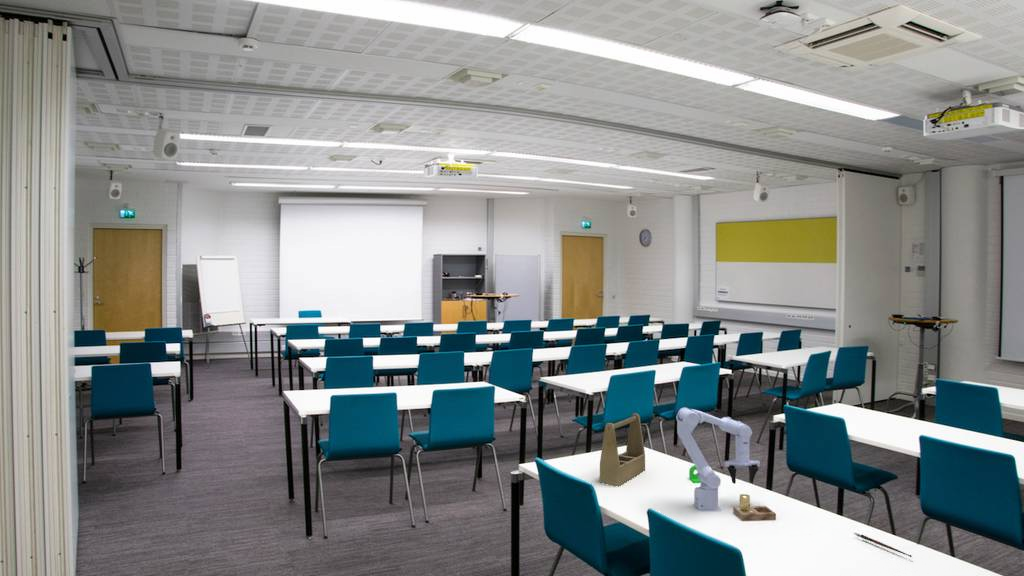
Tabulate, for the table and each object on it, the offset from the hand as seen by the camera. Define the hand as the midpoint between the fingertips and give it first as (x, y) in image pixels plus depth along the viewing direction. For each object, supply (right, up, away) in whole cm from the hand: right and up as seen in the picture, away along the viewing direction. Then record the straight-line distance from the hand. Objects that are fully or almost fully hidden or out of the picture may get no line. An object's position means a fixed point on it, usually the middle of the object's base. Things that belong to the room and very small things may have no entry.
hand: (742, 482), depth 286 cm
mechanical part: (-7, -10, +32) cm, 35 cm away
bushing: (-4, -8, -13) cm, 15 cm away
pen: (+37, -10, -33) cm, 50 cm away
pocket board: (0, -10, -13) cm, 16 cm away
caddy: (-45, -10, +39) cm, 60 cm away
